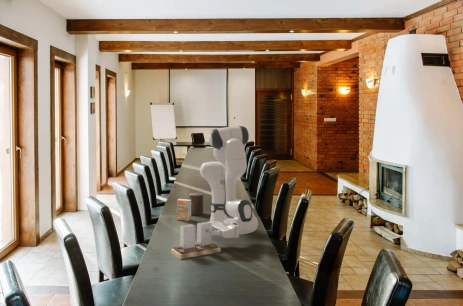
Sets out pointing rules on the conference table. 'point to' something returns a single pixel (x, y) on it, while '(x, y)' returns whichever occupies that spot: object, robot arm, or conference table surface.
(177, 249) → the wooden compartment tray
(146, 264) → the conference table surface
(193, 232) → the billet
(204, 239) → the aluminium billet
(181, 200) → the supplement box
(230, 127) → the robot arm
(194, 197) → the pillar candle
